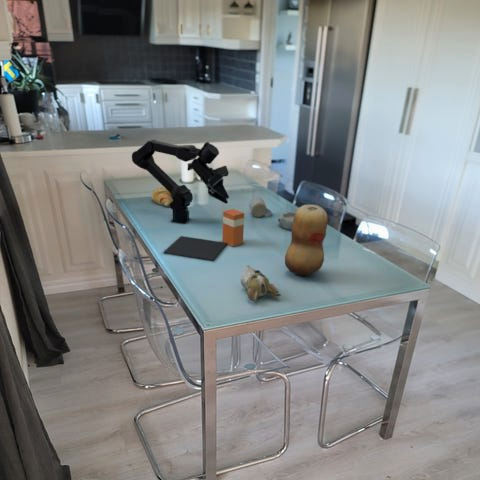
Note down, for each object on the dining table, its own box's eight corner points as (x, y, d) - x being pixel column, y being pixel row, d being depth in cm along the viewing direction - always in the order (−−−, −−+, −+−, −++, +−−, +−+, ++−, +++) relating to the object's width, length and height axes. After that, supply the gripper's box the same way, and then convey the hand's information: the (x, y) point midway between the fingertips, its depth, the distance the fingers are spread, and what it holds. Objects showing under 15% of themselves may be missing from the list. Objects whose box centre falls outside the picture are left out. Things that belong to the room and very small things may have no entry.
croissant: (174, 214, 231) (181, 199, 229) (156, 206, 225) (163, 191, 223) (160, 200, 247) (166, 186, 245) (143, 193, 241) (149, 179, 238)
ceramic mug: (251, 218, 221) (252, 202, 217) (248, 212, 228) (249, 196, 224) (273, 218, 222) (275, 202, 218) (269, 212, 229) (271, 197, 225)
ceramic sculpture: (261, 258, 159) (284, 279, 148) (259, 281, 164) (281, 302, 153) (233, 263, 155) (254, 285, 144) (232, 286, 159) (252, 309, 149)
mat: (163, 253, 181) (163, 251, 181) (181, 237, 196) (181, 236, 196) (212, 261, 177) (212, 259, 177) (227, 244, 192) (227, 242, 192)
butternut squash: (295, 284, 163) (303, 214, 150) (277, 269, 173) (283, 202, 160) (329, 279, 168) (339, 211, 155) (309, 264, 178) (318, 199, 166)
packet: (222, 241, 194) (223, 211, 187) (232, 238, 197) (233, 208, 191) (233, 246, 190) (234, 215, 183) (242, 243, 193) (244, 212, 187)
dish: (316, 227, 214) (317, 216, 212) (297, 234, 205) (298, 223, 203) (290, 218, 223) (291, 208, 220) (272, 225, 214) (273, 214, 211)
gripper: (219, 151, 188) (244, 182, 189) (217, 166, 207) (240, 193, 208) (197, 169, 188) (222, 200, 189) (198, 182, 206) (221, 209, 207)
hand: (227, 200), depth 198 cm, fingers open, 9 cm apart
